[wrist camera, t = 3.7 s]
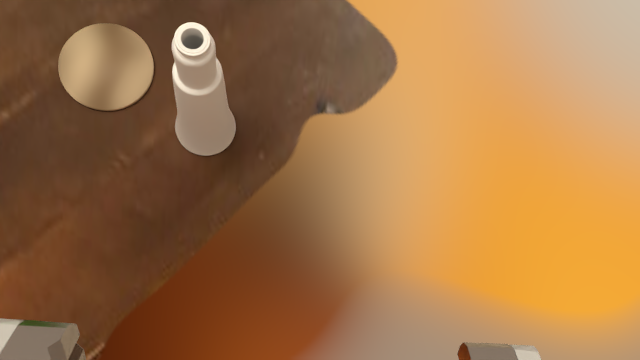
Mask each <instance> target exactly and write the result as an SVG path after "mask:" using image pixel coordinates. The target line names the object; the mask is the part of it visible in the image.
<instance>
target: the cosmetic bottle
mask: <svg viewBox="0 0 640 360" xmlns="http://www.w3.org/2000/svg"><path fill="white" fill-rule="evenodd" d="M172 52H173V56H174V60H175V62H174V65H173V69H172V75H173V85H174V92H175V98H176V104H177V113H178V114H177V118H176V123H175V130H176V135H177V137H178V139H179V141H180V143H181V144H182V145H183V146H184V147H185V148H186V149H187V150H189V151H190V152H192V153H194V154H197V155H203V156H209V155H214V154H217V153H220V152H222V151H223V150H225V149H226V148H227V147H228V146H229V145H230V143H231V142H232V140H233V138H234V136H235V131H236V123H235V119H234V116H233V114H232V112H231V111H230V109H229V107H228V102H227V96H226V89H225V82H224V76H223V71H222V67H221V64H220V62H219V61H218V59H217V58H216V49H215V42H214V40H213V38H212V36H211V35H210V34H209V32H208V31H207V29H206V28H205V27H204V26H202V25H200V24H198V23H194V22H190V23H185V24H183V25H181V26H180V27H179V28H178V29H177V30H176V32H175V35H174V38H173V41H172Z"/></svg>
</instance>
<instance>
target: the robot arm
mask: <svg viewBox="0 0 640 360" xmlns="http://www.w3.org/2000/svg"><path fill="white" fill-rule="evenodd" d="M79 335H80V334H79V331H78V328H77V325H76V324H71V323H58V322H45V321H32V320H16V319H0V360H86V357H85V353H84V349H83V348H81V347H80V346H79V345H78V344H77V343H76V342H77V340H78V338H79ZM458 358H459V360H541V357H540V355H539V353H538V350H537V349H536V348H535V347H534V346H525V345H508V344H489V343H462V344H461V346H460V348H459V351H458Z"/></svg>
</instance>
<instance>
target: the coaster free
mask: <svg viewBox="0 0 640 360" xmlns="http://www.w3.org/2000/svg"><path fill="white" fill-rule="evenodd" d="M58 70H59V76H60V79H61V82H62V84H63V86H64V87H65V89H66V91H67V92H68V93H69V94H70V95H71V96H72V97H73V98H74V99H75V100H76V101H77V102H79V103H80V104H82V105H84V106H86V107H88V108H91V109H94V110H99V111H116V110H120V109H124V108H126V107H129V106H131V105H133V104H134V103H136V102H137V101H138V100H140V99H141V98H142V97H143V96H144V94H145V93H146V92H147V90H148V89H149V87H150V85H151V83H152V80H153V75H154V62H153V58H152V55H151V52H150V50H149V48H148V46H147V45H146V43H145V42H144V40H143V39H142V38H141V37H140V36H139V35H137V34H136V33H135V32H133V31H132V30H130V29H128V28H126V27H123V26H120V25H116V24H110V23H102V24H95V25H91V26H88V27H85V28H83V29H81V30H79V31H78V32H76V33H75V34H74V35H73V36H71V37H70V38H69V40H68V41H67V42H66V43H65V45H64V47H63V48H62V51H61V53H60V56H59V62H58Z"/></svg>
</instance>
